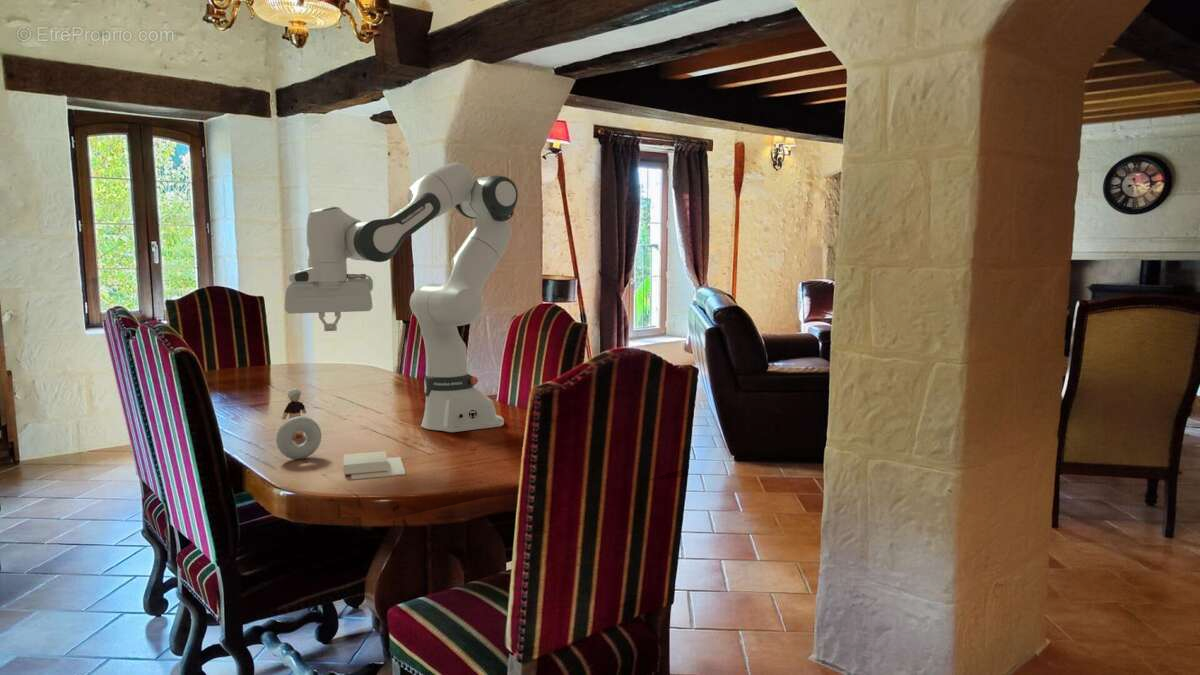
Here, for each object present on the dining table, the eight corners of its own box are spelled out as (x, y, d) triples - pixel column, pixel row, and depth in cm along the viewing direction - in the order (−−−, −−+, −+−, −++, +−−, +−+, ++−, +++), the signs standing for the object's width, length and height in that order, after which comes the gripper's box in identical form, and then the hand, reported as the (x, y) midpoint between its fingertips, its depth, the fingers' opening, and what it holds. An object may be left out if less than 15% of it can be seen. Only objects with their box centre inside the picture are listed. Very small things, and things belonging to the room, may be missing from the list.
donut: (319, 453, 178) (317, 412, 177) (324, 456, 176) (322, 414, 174) (275, 461, 172) (273, 418, 171) (279, 464, 169) (277, 420, 168)
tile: (343, 464, 168) (385, 461, 171) (344, 475, 159) (388, 471, 162) (343, 454, 168) (385, 451, 171) (343, 465, 159) (387, 461, 162)
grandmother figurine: (294, 440, 192) (292, 391, 190) (280, 439, 192) (278, 390, 191) (311, 433, 199) (309, 385, 198) (298, 432, 200) (296, 385, 198)
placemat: (400, 458, 174) (400, 456, 174) (405, 474, 161) (405, 473, 161) (350, 462, 171) (350, 461, 171) (351, 479, 158) (351, 478, 158)
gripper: (371, 273, 190) (373, 327, 191) (283, 274, 183) (286, 331, 184) (373, 274, 184) (375, 330, 185) (282, 275, 177) (285, 333, 178)
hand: (330, 330), depth 185 cm, fingers closed
